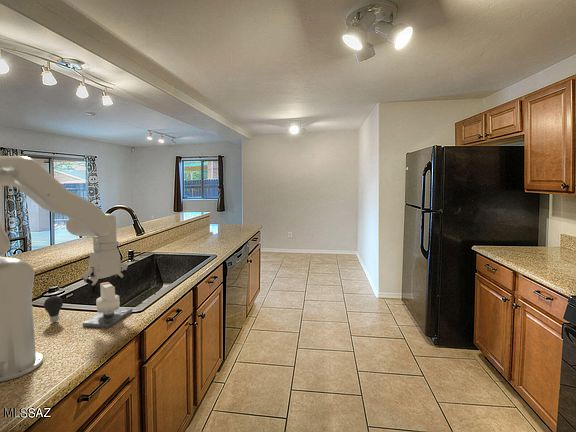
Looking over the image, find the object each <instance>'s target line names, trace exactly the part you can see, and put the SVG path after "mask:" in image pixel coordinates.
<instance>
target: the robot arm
mask: <svg viewBox="0 0 576 432" xmlns="http://www.w3.org/2000/svg"><path fill="white" fill-rule="evenodd" d="M0 186H2V187H3V186H4V187H5V186H6V187H7V186H8V187H9V186H10V187H15V188H17V189H18V191H20V192H22V193H23V194H24V195H26V196H27V197H28V198H29V199H30V200H32V201H34V203H36V204H37V205H39V206H40V207H41V208H42V209H44V210H46V211H49V212H51V213H53V214H54V213H55V214H57V215H61V216H63V217H64V216H65V217H68V218H69V219H68V220H67V221H66V223H65V228H66V230H67V232H68V233H70V234H71V235H73V236H77V237H89V238H92V244H93V245H92V247H93V250H92V251H91V252H90V255H89V260H88V269H87V270H86V271H85V272H83V273H82V274H81V275H80V277H81V278H82V280H83V281H84V283H86V284H87V285H89V288H88V289H89V290H88V291H89V295H90V296H94V297H95V296H98V284H96V283H98V281H99V279H100V280H101V279H104V278H105V279H106V278H108V277H112V276H114V287H115V288H117V289H121V288H123V277H124V275H125V274H126V272H127V269H128V266H129V265H128V264H126V263H123V262H121V255H120V251H119V249H118V246H119V245H120V242H119V241H118V240H117V239H118V238H117V218H116V215H115V214H113V213H104V212H103V211H102V209H100V208H99V207H98V206H97V205H96V204H94V203H92V202H90V201H89V200H88V199H85V198H83V197H82V196H80V195H78V194H76V193H74V192H72V191H70V190H69V189H67V188H66V187H65V186H64V185H63V184H62V183H61V182H59V181H58V180H57V179H56V178H55V177H54V176H53V175H52V174H51V173H50V172H48V170H47V169H46V168H45V167H44V166H42V165H41V164H40V163H39V162H37V161H36V160H35V159H33V158H31V157H28V156H23V155H21V156H20V155H0ZM10 246H11V240H10V237H9V235H8V233H7V232H6V230H5V229H4V227H3V225H2V223H1V222H0V382H6V381H11V380H14V379H17V378H20V377H22V376H24V375H26V374H29V373H31V372H33V371H34V370H36V369H37V368H38V367H40V365H42V363H43V361H44V356H43V354H42V353H40V352H36V351H37V350H36V341H35V340H36V338H35V329H34V327H35V326H34V325H35V324H34V314H33V313H34V312H33V299H32V298H33V289H34V288H33V287H34V283H35V282H34V281H35V270H34V268H33V266H32V265H31V264H30V263H29V262H27V261H26V260H23V259H20V258H17V257H9V256H8V257H7V256H4V255H5V254H7V253H8V251H9V250H10Z"/></svg>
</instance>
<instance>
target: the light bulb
mask: <svg viewBox="0 0 576 432" xmlns="http://www.w3.org/2000/svg"><path fill="white" fill-rule="evenodd" d="M63 302H64V301H63V298H61V297H60V296H58V295H52V296H49V297H48V298H46V299H45V301H44V302H43V309H44V310H45V311H46V312H47V313H48V316H49V320H50V322H51V323H56V322H57V321H59V317H60V316H59V314H60V311H61V309H62V307H63V304H64V303H63Z"/></svg>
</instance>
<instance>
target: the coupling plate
mask: <svg viewBox="0 0 576 432" xmlns="http://www.w3.org/2000/svg"><path fill="white" fill-rule="evenodd" d="M132 313H133V308H130V307H129V308H128V307H119V308H118V309H117V310H114V311H111V312H103V313H102V312H98V313H97V314H94V315H93V316H91V317H90V318H88V319H87V320H85V321H83V322H82V327H83V328H96V329H110V328H111V327H113V326H114V325H116V324H117V323H119V322H120V321H122V320H123V319H125V318H126V317H127V316H129V315H130V314H132Z"/></svg>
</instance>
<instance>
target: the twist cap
mask: <svg viewBox="0 0 576 432" xmlns="http://www.w3.org/2000/svg"><path fill="white" fill-rule="evenodd" d="M99 288H100V289H99V290H100V297H98V298H96V301H95V303H96V305H95V306H96V312H98V313H100V312H102V313H103V312H111V311H114V310H117V309H118V308H121V307H120V306H121V305H120V304H121V303H120V295H118V294H116V287H115V285H113V284H111V283H110V282H109V281H106V282H101V283H99Z"/></svg>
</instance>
